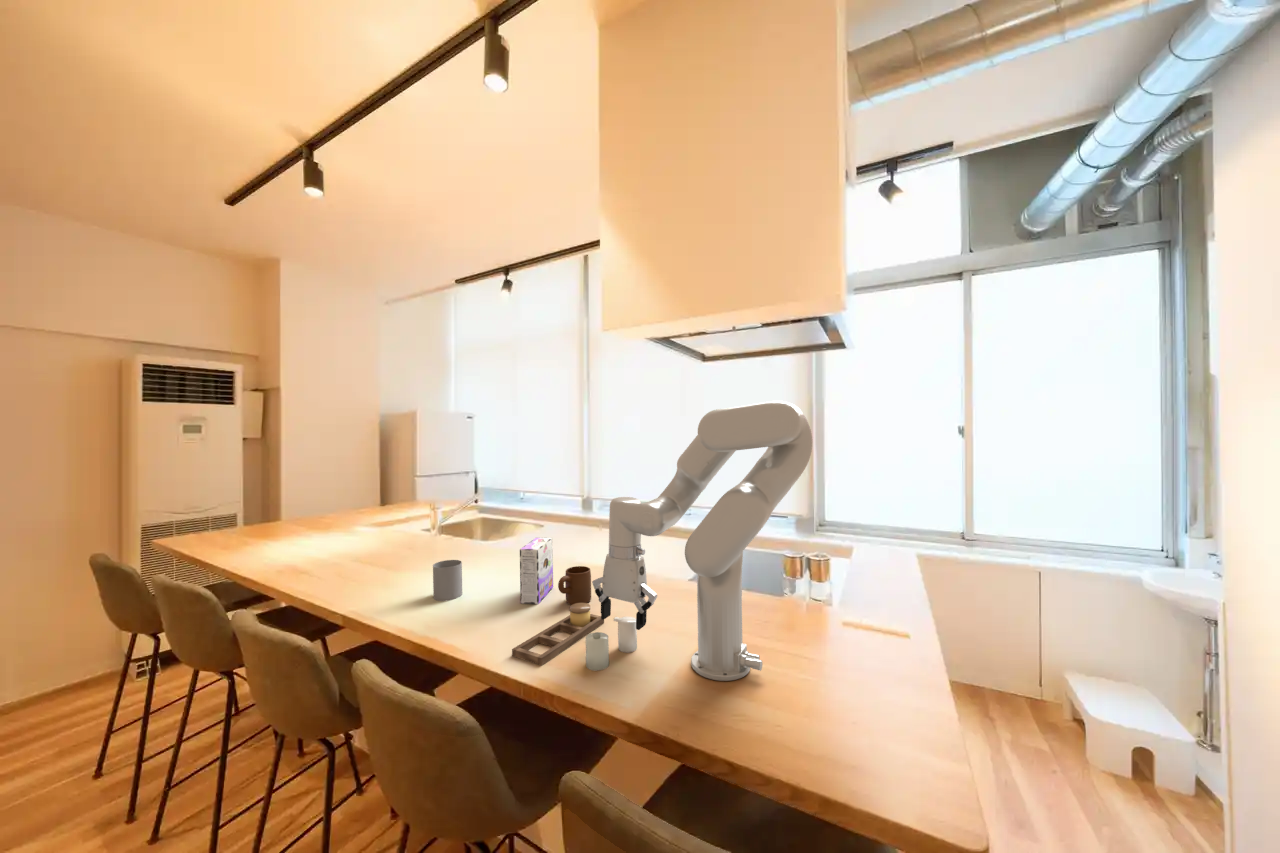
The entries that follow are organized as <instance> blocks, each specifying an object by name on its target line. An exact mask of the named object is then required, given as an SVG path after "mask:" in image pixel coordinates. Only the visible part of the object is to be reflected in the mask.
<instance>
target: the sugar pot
mask: <svg viewBox="0 0 1280 853" xmlns="http://www.w3.org/2000/svg"><path fill="white" fill-rule="evenodd" d="M609 646H610V645H609V635H608V634H607V633H605V632H601V631H600V632H599V631H595V632H592V633H591V632H590V633H589V634H587V635H586V636H585V666H586V668H587V669H588V670H590V671H596V672H597V671H601V670H602V671H603V670H605V669H607V668H608V667H609V665H610V658H609V656H610V654H609V652H610V651H609V649H610V648H609Z"/></svg>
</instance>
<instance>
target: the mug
mask: <svg viewBox="0 0 1280 853" xmlns="http://www.w3.org/2000/svg"><path fill="white" fill-rule="evenodd" d="M591 571H592V570H591V568H590V567H588V566H586V565H585V566H583V565H578V566H577V565H576V566H571V567H568V568H566V569H565V573H564V574H565V575H564V576H561V577H560V579H559V581H558V583H557V586H558V588H557V589H558V590H559V592H560V594H564V595H565V603H567V604H568V605H570V606H571V605H573V604H575V603H588V604H589V603H590V602H591V600H592V574H591Z"/></svg>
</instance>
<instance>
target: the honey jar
mask: <svg viewBox="0 0 1280 853" xmlns="http://www.w3.org/2000/svg"><path fill="white" fill-rule="evenodd" d="M590 614H591V604H589V602H588V603H575V604H573V605H570V606H569V615H570V624H571V625H575V626H579V627H584V626H586V625H587V624H589V623H590Z"/></svg>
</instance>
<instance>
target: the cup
mask: <svg viewBox="0 0 1280 853" xmlns="http://www.w3.org/2000/svg"><path fill="white" fill-rule="evenodd" d="M462 565H463V562H462V560H458V559H446V560H441V561H438V562H435V563H433V565H432V580H433V581H432V583H433V584H432V585H433V586H432V587H433V588H432V589H433V600H435V601H438V602H444V601H452V600H455V599H458V598H460V597H462V596H463V566H462Z"/></svg>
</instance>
